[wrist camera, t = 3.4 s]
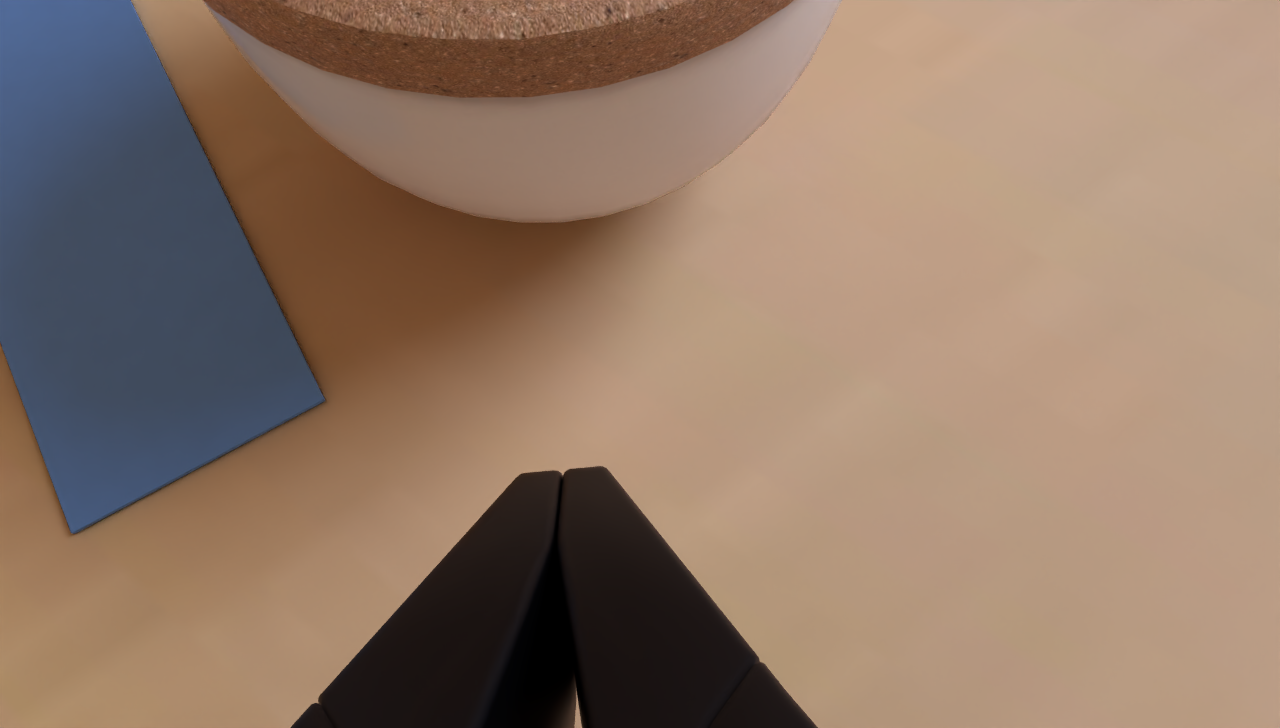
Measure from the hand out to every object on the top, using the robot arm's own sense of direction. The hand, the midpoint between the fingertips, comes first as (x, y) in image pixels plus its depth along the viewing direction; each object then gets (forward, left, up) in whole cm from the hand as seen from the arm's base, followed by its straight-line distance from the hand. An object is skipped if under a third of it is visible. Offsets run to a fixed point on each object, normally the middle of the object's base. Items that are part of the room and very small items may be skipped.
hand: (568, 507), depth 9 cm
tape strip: (-5, +12, -7) cm, 15 cm away
